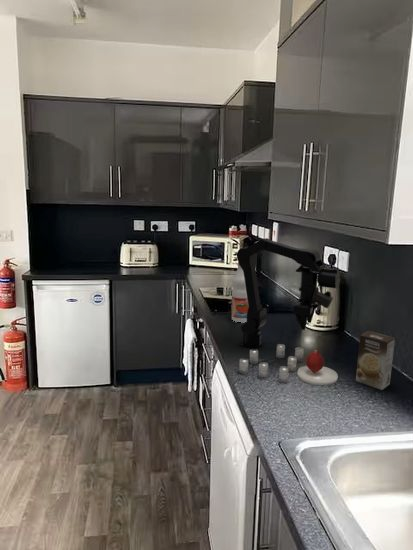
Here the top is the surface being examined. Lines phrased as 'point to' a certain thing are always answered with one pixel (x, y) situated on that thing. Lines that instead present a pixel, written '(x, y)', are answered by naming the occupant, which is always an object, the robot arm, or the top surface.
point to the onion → (314, 361)
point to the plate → (317, 376)
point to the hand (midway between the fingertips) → (306, 326)
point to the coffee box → (375, 359)
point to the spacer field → (264, 366)
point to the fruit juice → (239, 297)
